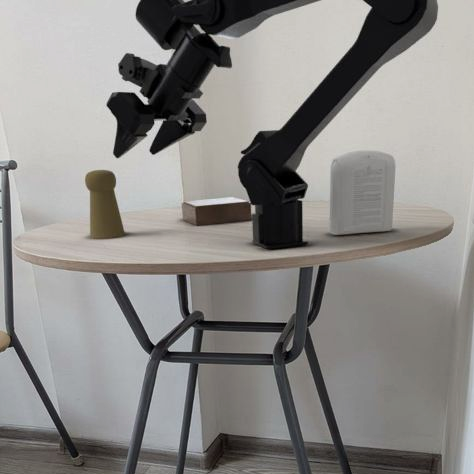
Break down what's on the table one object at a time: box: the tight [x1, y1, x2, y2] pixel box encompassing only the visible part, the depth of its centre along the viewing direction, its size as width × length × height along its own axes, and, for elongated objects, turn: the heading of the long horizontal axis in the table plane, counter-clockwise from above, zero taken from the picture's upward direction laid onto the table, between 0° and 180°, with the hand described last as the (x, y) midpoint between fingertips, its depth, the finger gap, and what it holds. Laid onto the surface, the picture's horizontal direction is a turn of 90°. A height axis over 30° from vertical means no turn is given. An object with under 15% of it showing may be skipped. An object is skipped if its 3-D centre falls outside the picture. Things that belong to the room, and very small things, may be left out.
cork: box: [84, 169, 126, 240], centre depth 100 cm, size 6×6×11 cm
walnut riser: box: [181, 196, 252, 226], centre depth 114 cm, size 11×10×4 cm
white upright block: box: [329, 150, 396, 236], centre depth 91 cm, size 10×4×12 cm, turn 104°
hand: (134, 154), depth 94 cm, fingers open, 9 cm apart
